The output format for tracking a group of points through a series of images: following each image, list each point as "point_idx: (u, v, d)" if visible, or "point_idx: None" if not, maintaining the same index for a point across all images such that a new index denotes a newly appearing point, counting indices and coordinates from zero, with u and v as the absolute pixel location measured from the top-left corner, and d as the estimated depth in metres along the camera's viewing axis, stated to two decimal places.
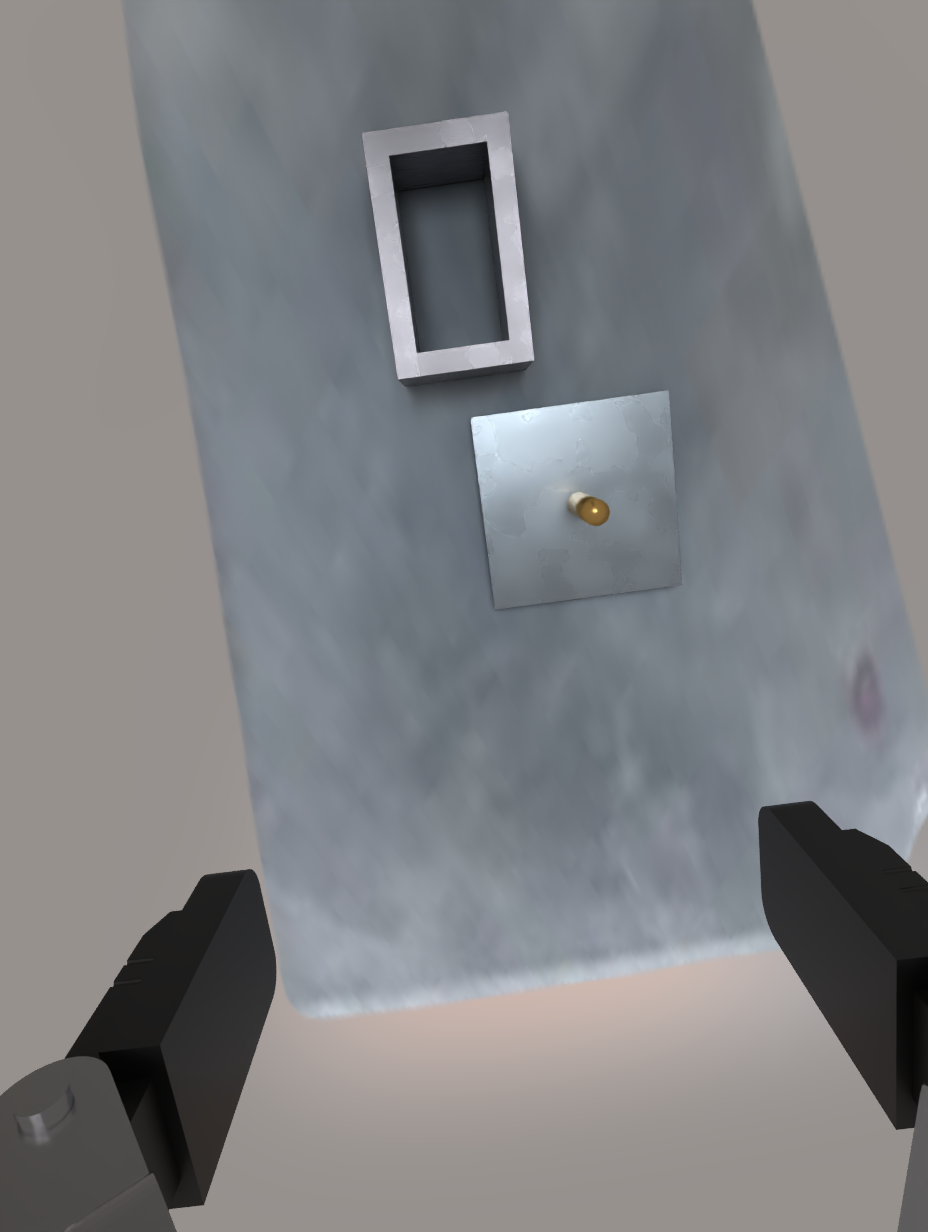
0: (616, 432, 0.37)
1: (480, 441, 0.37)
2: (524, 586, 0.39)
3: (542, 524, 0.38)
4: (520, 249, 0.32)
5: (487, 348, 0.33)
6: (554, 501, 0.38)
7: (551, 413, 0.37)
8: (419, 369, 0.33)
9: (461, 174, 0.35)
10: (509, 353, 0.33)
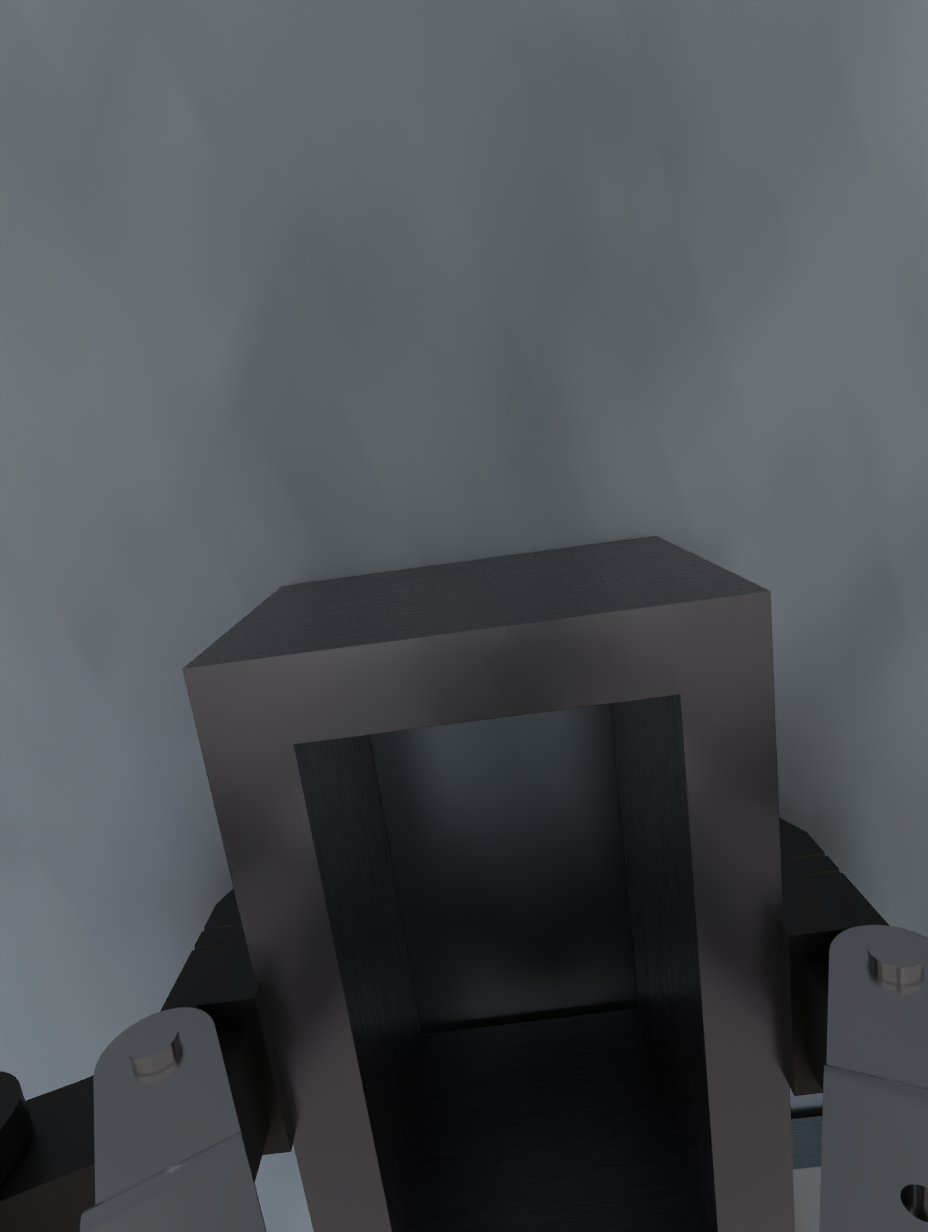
0: None
1: None
2: None
3: None
4: (781, 1027, 0.09)
5: None
6: None
7: None
8: None
9: None
10: None
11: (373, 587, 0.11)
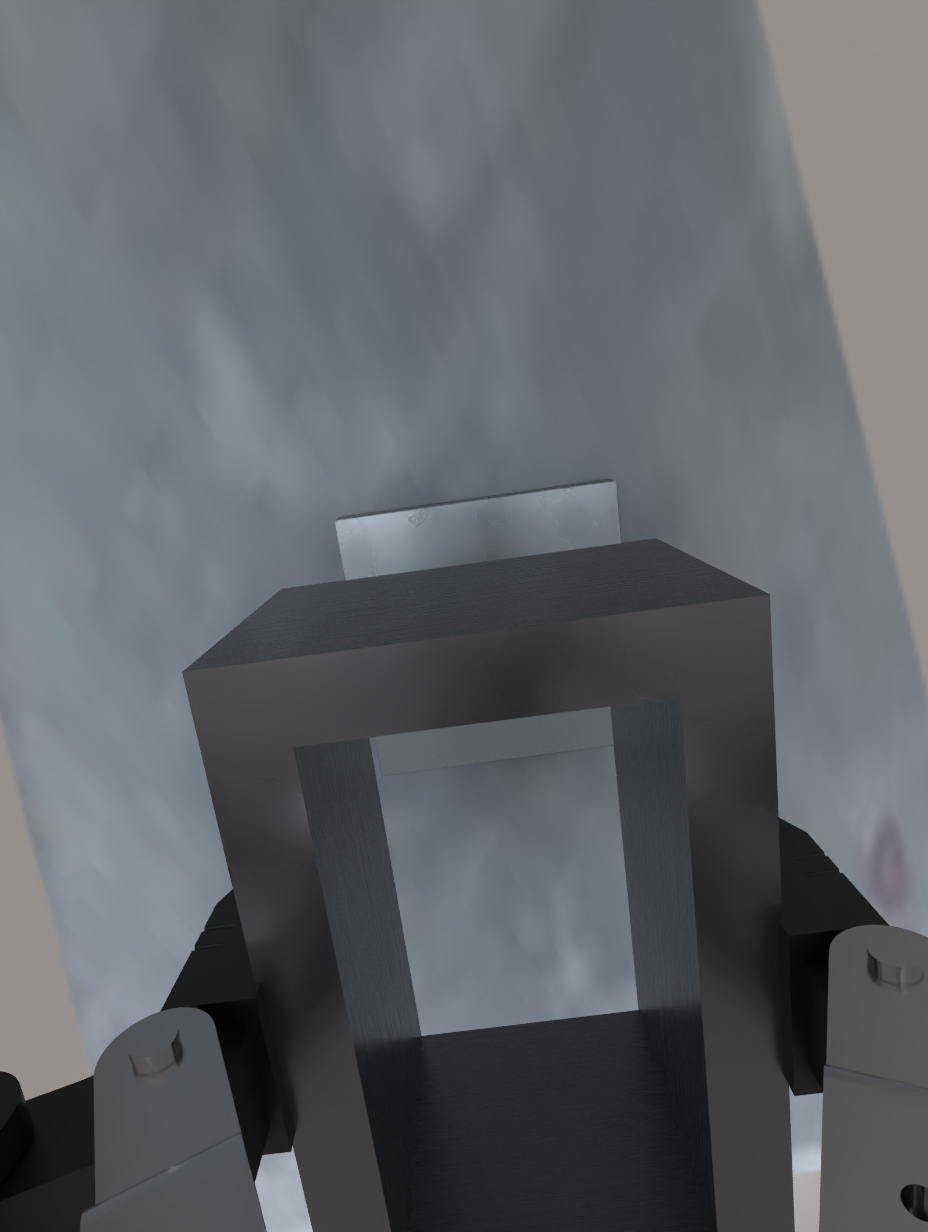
0: (542, 539, 0.26)
1: (350, 553, 0.26)
2: (421, 745, 0.28)
3: None
4: (780, 1030, 0.09)
5: None
6: None
7: (449, 514, 0.26)
8: None
9: None
10: None
11: (373, 589, 0.11)
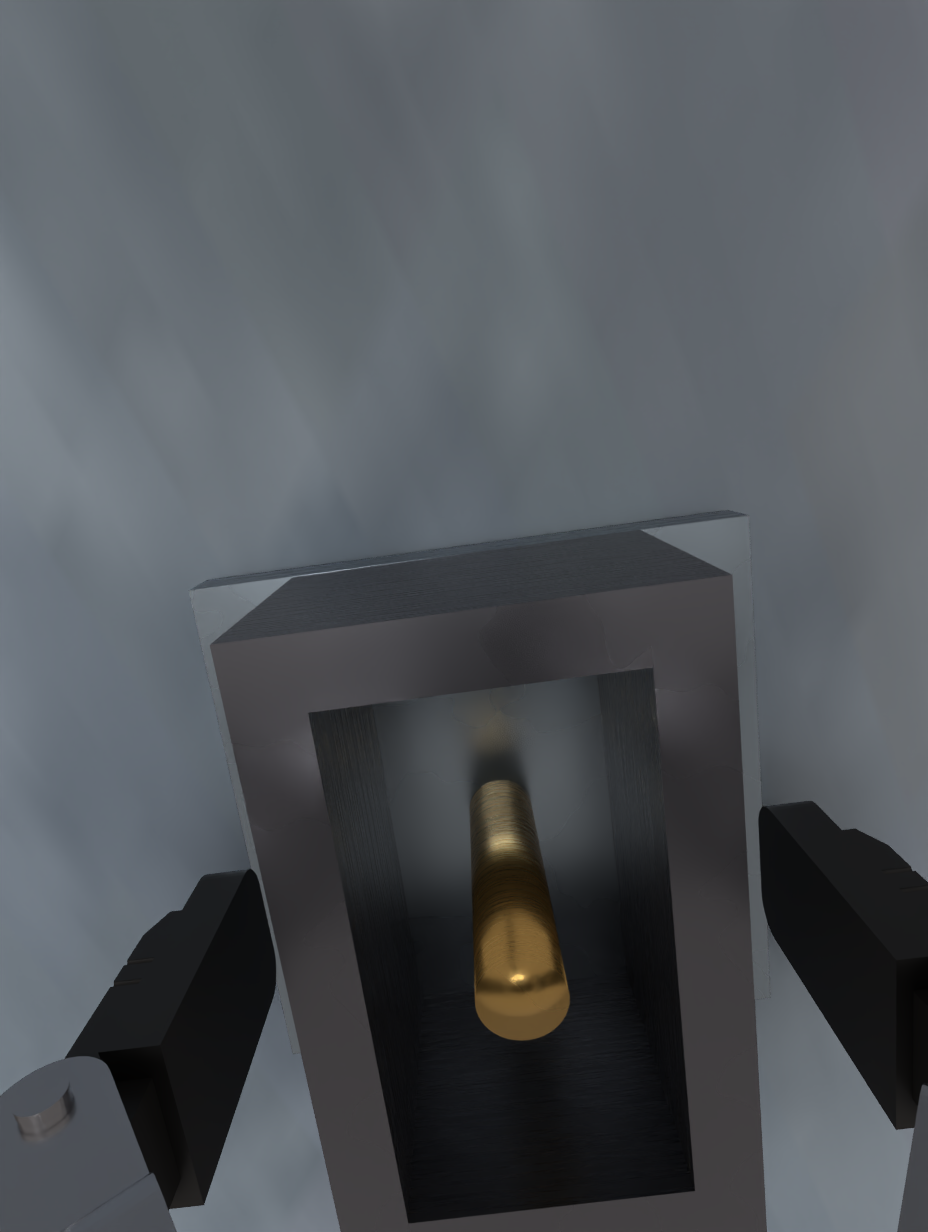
0: None
1: None
2: None
3: (406, 860, 0.14)
4: (747, 971, 0.10)
5: (626, 1210, 0.11)
6: (434, 802, 0.14)
7: None
8: None
9: None
10: (692, 1222, 0.11)
11: (378, 576, 0.12)
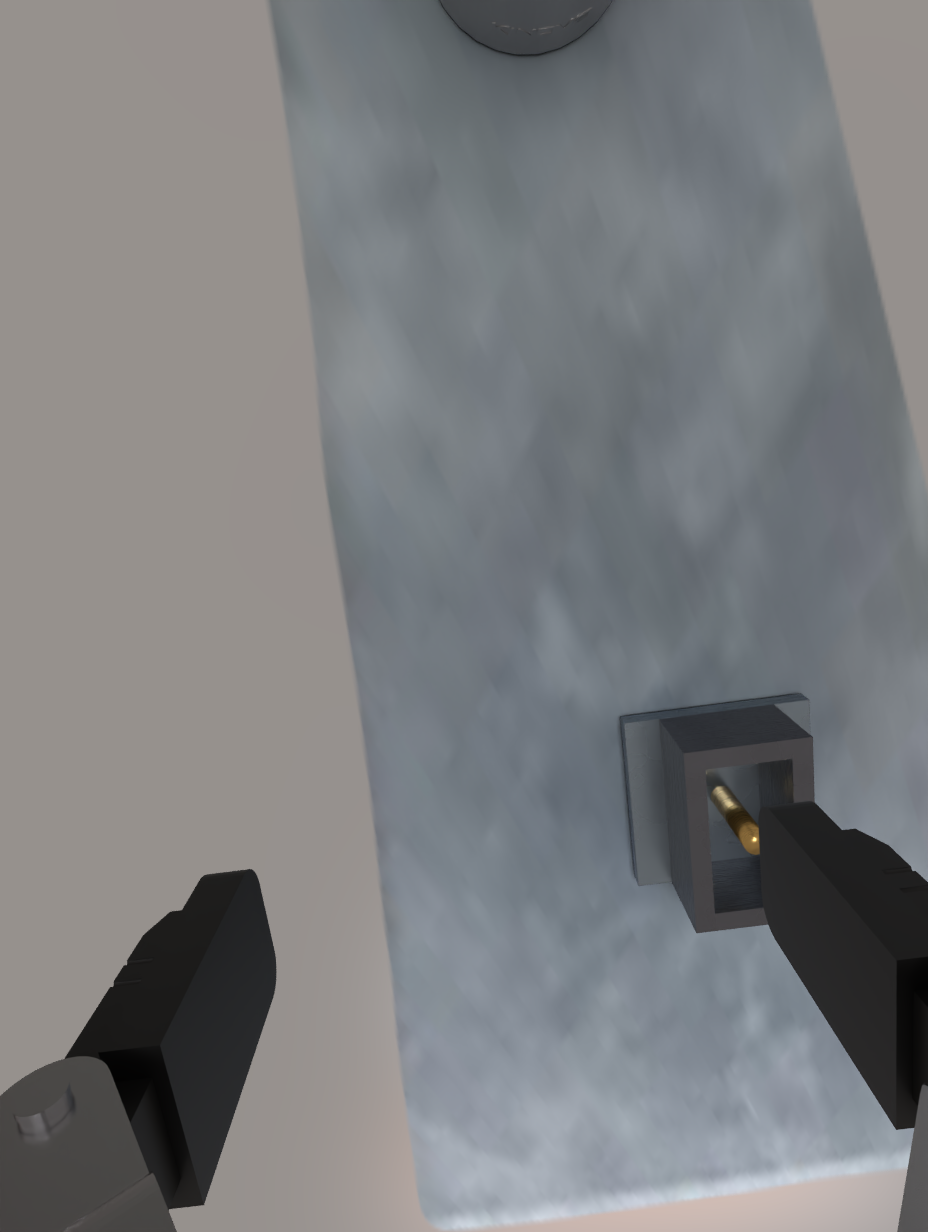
0: None
1: (632, 743, 0.40)
2: (667, 866, 0.42)
3: None
4: None
5: None
6: None
7: None
8: (716, 925, 0.38)
9: None
10: None
11: (696, 723, 0.39)
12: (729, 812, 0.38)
